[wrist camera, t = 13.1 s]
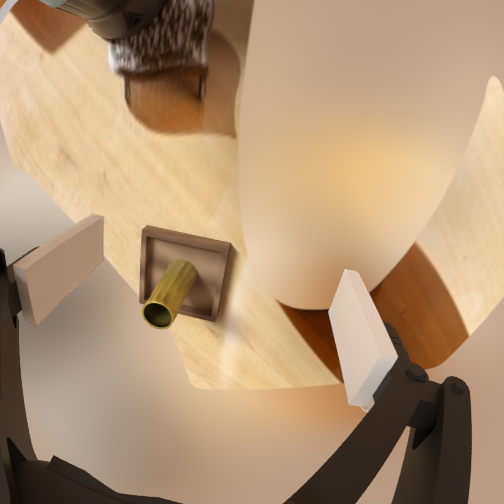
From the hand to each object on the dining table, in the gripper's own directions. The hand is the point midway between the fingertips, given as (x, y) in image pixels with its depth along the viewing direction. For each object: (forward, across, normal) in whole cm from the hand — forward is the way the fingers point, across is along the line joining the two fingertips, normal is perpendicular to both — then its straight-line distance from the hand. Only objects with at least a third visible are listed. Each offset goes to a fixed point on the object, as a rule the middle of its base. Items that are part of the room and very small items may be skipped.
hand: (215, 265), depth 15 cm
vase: (+36, -10, -22) cm, 44 cm away
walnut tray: (+37, -10, -22) cm, 44 cm away
